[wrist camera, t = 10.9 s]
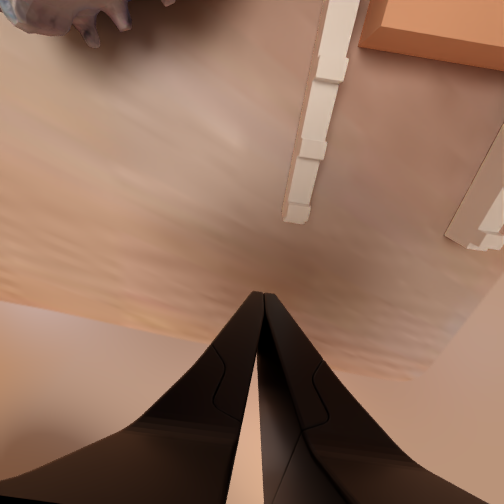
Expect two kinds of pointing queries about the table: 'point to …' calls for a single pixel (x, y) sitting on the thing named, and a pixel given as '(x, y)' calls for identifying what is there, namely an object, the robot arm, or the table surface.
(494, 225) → the comb channel
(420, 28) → the block
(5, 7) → the cell model
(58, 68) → the table surface
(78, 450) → the robot arm
